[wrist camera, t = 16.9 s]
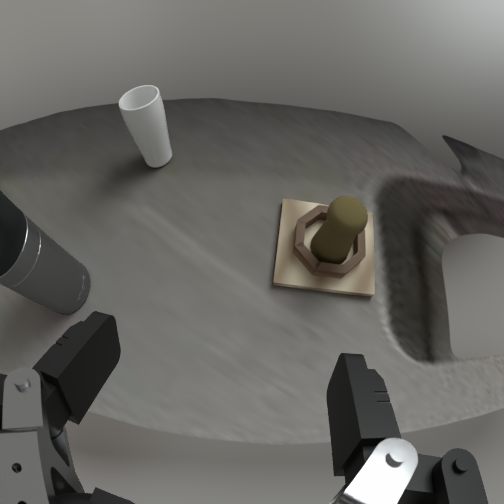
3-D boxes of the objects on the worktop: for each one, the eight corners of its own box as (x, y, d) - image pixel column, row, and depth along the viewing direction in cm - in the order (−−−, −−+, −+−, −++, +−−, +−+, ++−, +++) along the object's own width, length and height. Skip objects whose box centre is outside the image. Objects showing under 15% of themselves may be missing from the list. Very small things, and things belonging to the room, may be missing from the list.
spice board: (272, 284, 43) (274, 276, 40) (282, 202, 48) (284, 190, 45) (371, 296, 42) (380, 290, 39) (369, 216, 48) (377, 205, 44)
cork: (356, 253, 44) (384, 216, 33) (326, 274, 42) (349, 241, 32) (332, 223, 46) (352, 181, 35) (302, 242, 44) (316, 201, 34)
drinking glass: (145, 177, 50) (119, 116, 37) (139, 152, 53) (116, 93, 39) (180, 164, 52) (163, 100, 38) (172, 140, 54) (156, 79, 40)
